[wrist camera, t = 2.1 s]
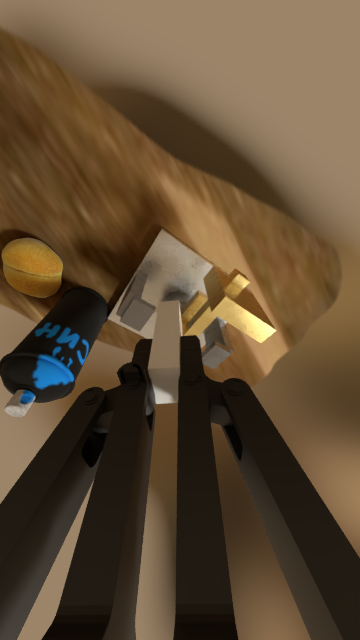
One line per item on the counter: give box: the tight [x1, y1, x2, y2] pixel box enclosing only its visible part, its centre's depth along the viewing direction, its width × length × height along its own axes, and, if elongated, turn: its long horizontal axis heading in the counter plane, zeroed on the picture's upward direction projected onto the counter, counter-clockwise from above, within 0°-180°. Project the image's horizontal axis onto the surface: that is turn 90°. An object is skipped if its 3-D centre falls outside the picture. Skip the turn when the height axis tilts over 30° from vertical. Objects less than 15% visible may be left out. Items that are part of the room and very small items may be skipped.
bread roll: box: [2, 238, 63, 298], centre depth 32 cm, size 8×9×4 cm
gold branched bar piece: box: [180, 266, 276, 343], centre depth 26 cm, size 6×18×11 cm, turn 145°
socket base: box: [108, 228, 253, 369], centre depth 33 cm, size 18×18×10 cm
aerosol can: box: [0, 287, 109, 417], centre depth 29 cm, size 8×8×20 cm
